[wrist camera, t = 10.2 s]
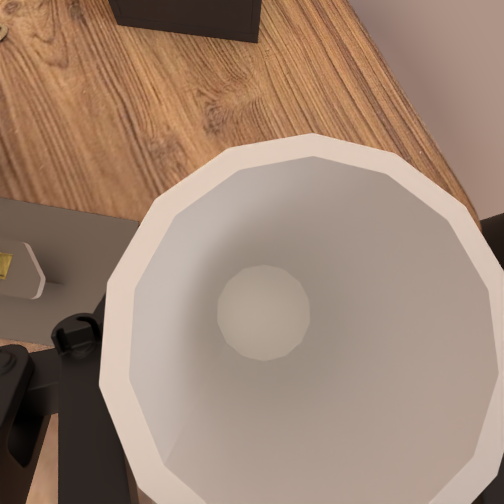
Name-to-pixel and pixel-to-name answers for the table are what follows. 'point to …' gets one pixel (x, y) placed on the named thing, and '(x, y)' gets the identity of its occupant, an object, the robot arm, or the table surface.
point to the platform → (54, 265)
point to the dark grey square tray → (193, 17)
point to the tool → (3, 30)
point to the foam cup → (307, 334)
